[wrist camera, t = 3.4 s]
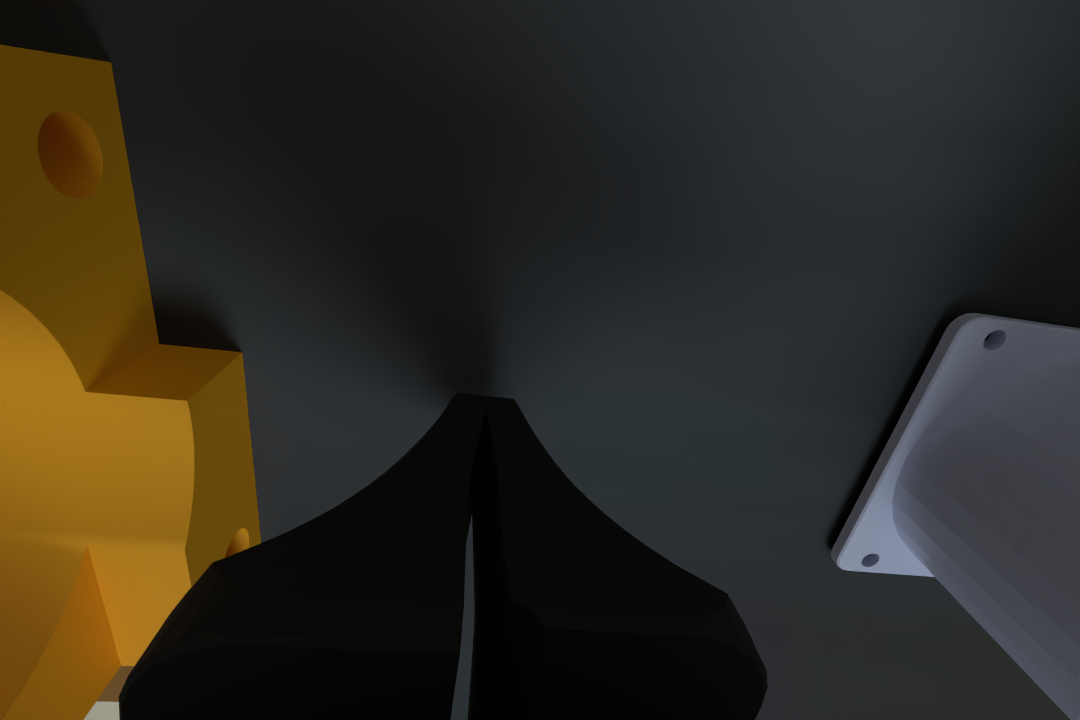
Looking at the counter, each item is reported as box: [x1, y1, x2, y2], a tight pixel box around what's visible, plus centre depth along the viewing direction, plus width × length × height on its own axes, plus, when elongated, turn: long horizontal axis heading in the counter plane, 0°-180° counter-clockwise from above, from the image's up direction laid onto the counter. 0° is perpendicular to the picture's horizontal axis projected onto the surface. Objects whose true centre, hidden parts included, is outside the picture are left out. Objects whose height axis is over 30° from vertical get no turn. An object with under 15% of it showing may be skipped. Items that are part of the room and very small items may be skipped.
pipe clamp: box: [0, 45, 261, 720], centre depth 9 cm, size 12×4×6 cm, turn 172°
